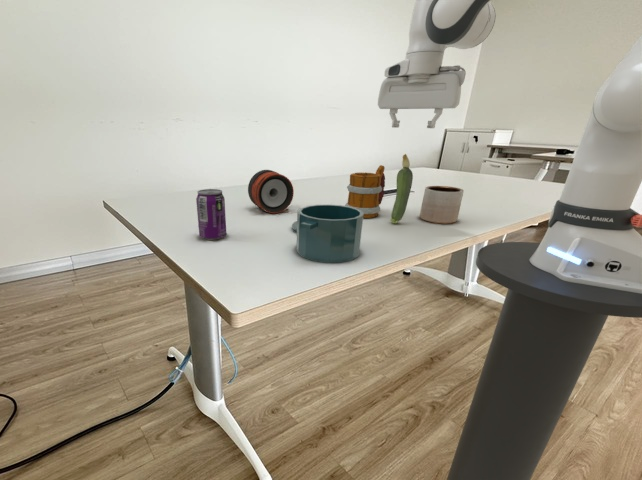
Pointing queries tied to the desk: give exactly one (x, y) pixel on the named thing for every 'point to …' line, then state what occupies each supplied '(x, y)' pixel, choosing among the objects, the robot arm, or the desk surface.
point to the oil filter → (270, 191)
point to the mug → (367, 192)
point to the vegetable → (402, 190)
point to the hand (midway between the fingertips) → (412, 127)
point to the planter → (441, 204)
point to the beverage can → (211, 214)
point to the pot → (329, 233)
